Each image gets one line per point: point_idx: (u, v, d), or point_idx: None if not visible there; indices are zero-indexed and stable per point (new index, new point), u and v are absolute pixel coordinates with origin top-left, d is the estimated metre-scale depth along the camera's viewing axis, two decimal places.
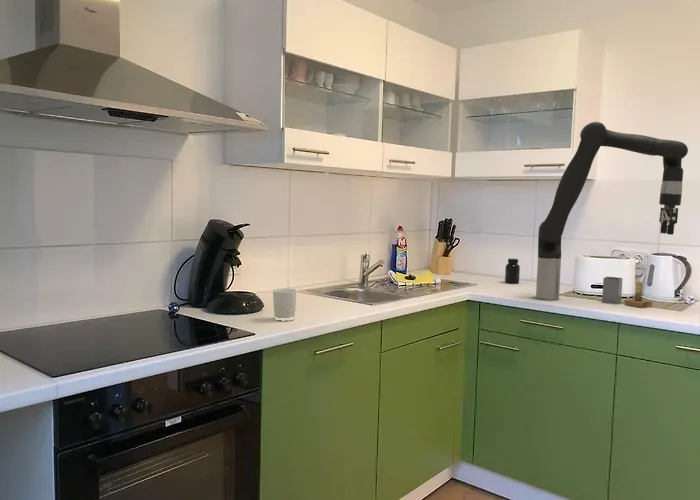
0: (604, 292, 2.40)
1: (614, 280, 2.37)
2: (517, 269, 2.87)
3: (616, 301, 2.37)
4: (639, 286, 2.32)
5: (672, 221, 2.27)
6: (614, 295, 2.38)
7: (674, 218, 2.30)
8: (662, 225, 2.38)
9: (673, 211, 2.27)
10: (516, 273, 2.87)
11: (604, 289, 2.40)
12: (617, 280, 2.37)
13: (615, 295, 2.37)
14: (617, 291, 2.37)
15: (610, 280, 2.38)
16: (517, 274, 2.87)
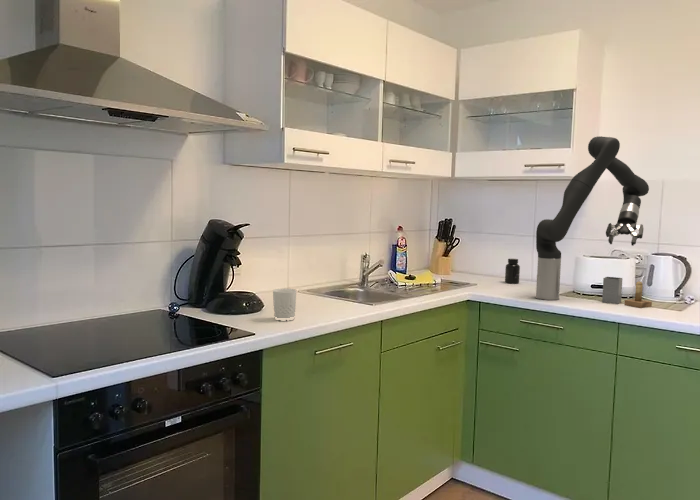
0: (604, 292, 2.40)
1: (614, 280, 2.37)
2: (517, 269, 2.87)
3: (616, 301, 2.37)
4: (639, 286, 2.32)
5: (641, 234, 2.47)
6: (614, 295, 2.38)
7: None
8: (612, 236, 2.52)
9: (642, 228, 2.49)
10: (516, 273, 2.87)
11: (604, 289, 2.40)
12: (617, 280, 2.37)
13: (615, 295, 2.37)
14: (617, 291, 2.37)
15: (610, 280, 2.38)
16: (517, 274, 2.87)
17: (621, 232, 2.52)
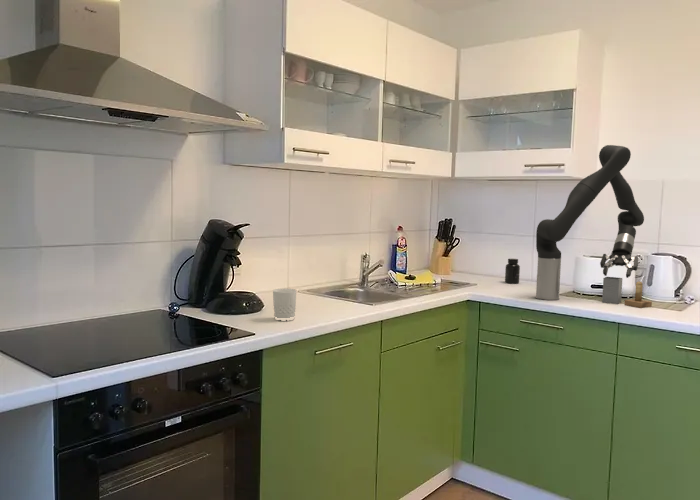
0: (604, 292, 2.40)
1: (614, 280, 2.37)
2: (517, 269, 2.87)
3: (616, 301, 2.37)
4: (639, 286, 2.32)
5: None
6: (614, 295, 2.38)
7: None
8: (607, 267, 2.48)
9: (637, 259, 2.45)
10: (516, 273, 2.87)
11: (604, 289, 2.40)
12: (617, 280, 2.37)
13: (615, 295, 2.37)
14: (617, 291, 2.37)
15: (610, 280, 2.38)
16: (517, 274, 2.87)
17: (616, 263, 2.48)
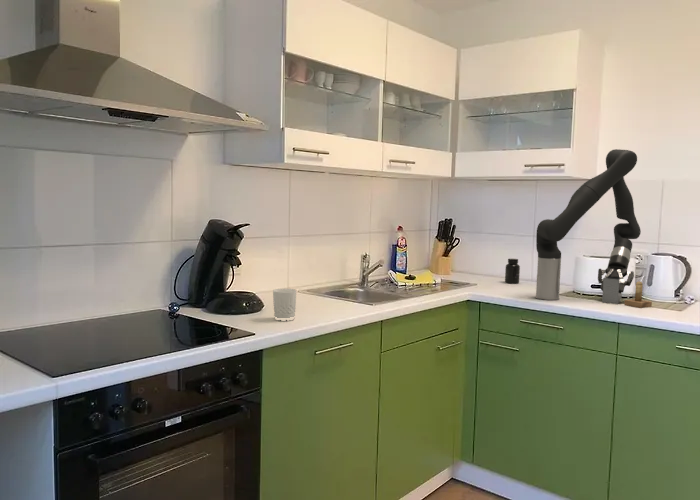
0: (604, 292, 2.40)
1: (614, 280, 2.37)
2: (517, 269, 2.87)
3: (616, 301, 2.37)
4: (639, 286, 2.32)
5: (629, 282, 2.38)
6: (614, 295, 2.38)
7: None
8: None
9: (633, 275, 2.40)
10: (516, 273, 2.87)
11: (604, 289, 2.40)
12: (617, 280, 2.37)
13: (615, 295, 2.37)
14: (617, 291, 2.37)
15: (610, 280, 2.38)
16: (517, 274, 2.87)
17: None
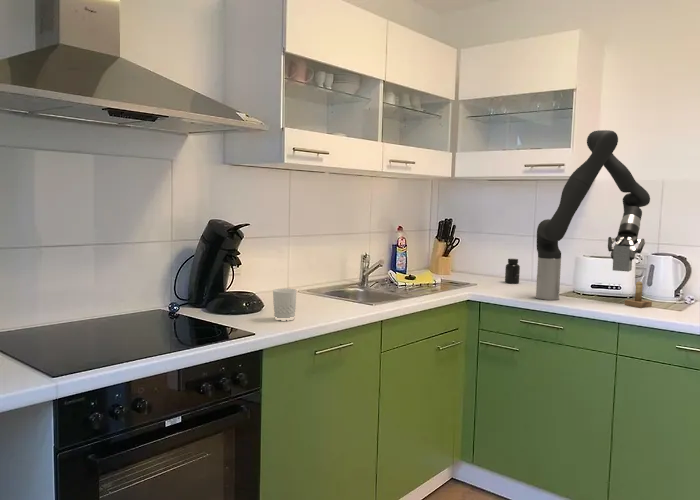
0: (614, 260, 2.37)
1: (625, 247, 2.34)
2: (517, 269, 2.87)
3: (627, 268, 2.34)
4: (639, 286, 2.32)
5: (640, 249, 2.35)
6: (625, 262, 2.34)
7: None
8: None
9: (643, 242, 2.37)
10: (516, 273, 2.87)
11: (614, 257, 2.37)
12: (628, 247, 2.33)
13: (626, 263, 2.34)
14: (628, 258, 2.34)
15: (621, 247, 2.35)
16: (517, 274, 2.87)
17: None
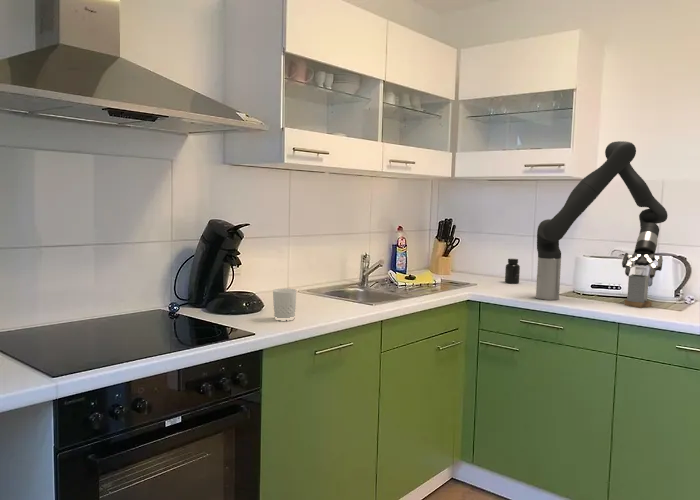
0: (629, 290, 2.32)
1: (640, 278, 2.30)
2: (517, 269, 2.87)
3: (642, 300, 2.30)
4: None
5: (660, 266, 2.30)
6: (640, 293, 2.30)
7: None
8: (629, 267, 2.35)
9: (662, 259, 2.32)
10: (516, 273, 2.87)
11: (629, 287, 2.32)
12: (643, 278, 2.29)
13: (641, 294, 2.30)
14: (643, 289, 2.29)
15: (636, 278, 2.31)
16: (517, 274, 2.87)
17: (639, 263, 2.35)
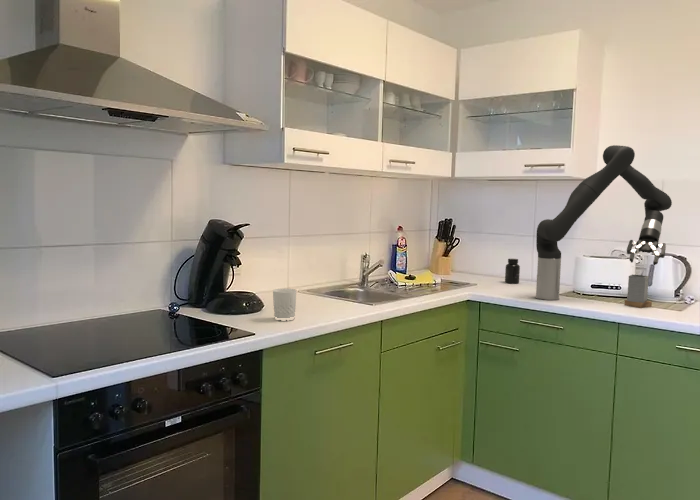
0: (629, 290, 2.32)
1: (640, 278, 2.30)
2: (517, 269, 2.87)
3: (642, 300, 2.30)
4: None
5: (663, 254, 2.41)
6: (640, 293, 2.30)
7: None
8: (633, 254, 2.46)
9: (665, 247, 2.43)
10: (516, 273, 2.87)
11: (629, 287, 2.32)
12: (643, 278, 2.29)
13: (641, 294, 2.30)
14: (643, 289, 2.29)
15: (636, 278, 2.31)
16: (517, 274, 2.87)
17: (643, 250, 2.46)
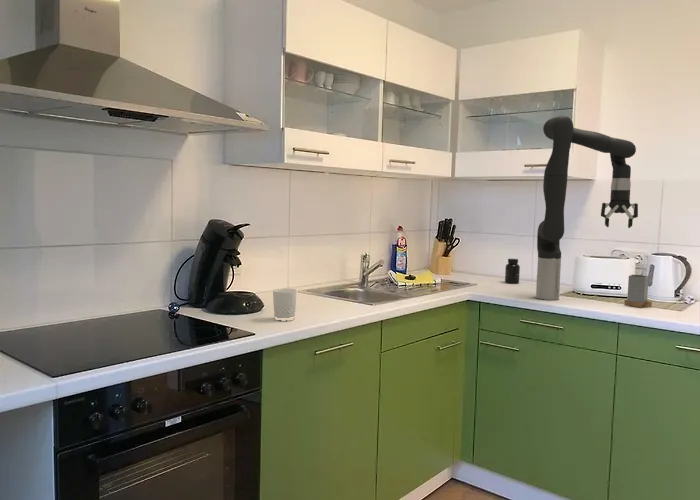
0: (629, 290, 2.32)
1: (640, 278, 2.30)
2: (517, 269, 2.87)
3: (642, 300, 2.30)
4: None
5: None
6: (640, 293, 2.30)
7: None
8: None
9: None
10: (516, 273, 2.87)
11: (629, 287, 2.32)
12: (643, 278, 2.29)
13: (641, 294, 2.30)
14: (643, 289, 2.29)
15: (636, 278, 2.31)
16: (517, 274, 2.87)
17: None
